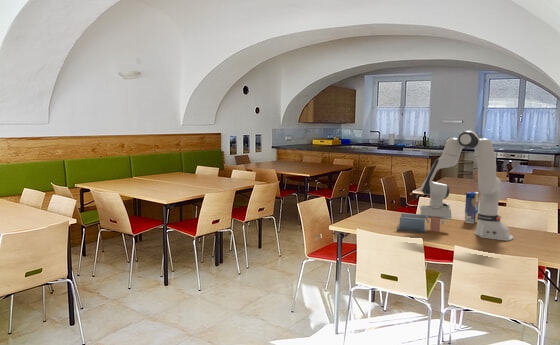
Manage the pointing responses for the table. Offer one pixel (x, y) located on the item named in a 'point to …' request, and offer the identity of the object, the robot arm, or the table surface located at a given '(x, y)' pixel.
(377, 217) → the table surface
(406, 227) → the blue slanted stand
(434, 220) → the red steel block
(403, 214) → the sliding jaw
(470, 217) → the beverage box
